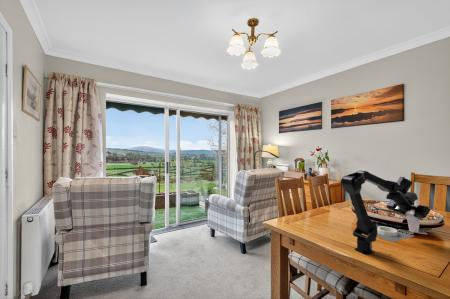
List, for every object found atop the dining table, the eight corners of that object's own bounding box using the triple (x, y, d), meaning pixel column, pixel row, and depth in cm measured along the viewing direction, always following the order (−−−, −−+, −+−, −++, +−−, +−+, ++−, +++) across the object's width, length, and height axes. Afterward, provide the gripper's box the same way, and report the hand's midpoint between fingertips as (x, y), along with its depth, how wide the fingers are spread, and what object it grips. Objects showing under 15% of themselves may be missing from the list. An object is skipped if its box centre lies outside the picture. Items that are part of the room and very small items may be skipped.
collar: (390, 237, 122) (390, 233, 122) (373, 231, 131) (373, 227, 131) (401, 234, 125) (401, 230, 126) (383, 229, 134) (383, 225, 134)
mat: (393, 242, 116) (393, 242, 116) (361, 231, 133) (361, 230, 133) (414, 236, 124) (414, 235, 124) (382, 227, 140) (382, 226, 140)
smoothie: (405, 231, 116) (405, 205, 116) (406, 228, 121) (405, 203, 121) (421, 234, 112) (421, 207, 112) (421, 230, 116) (420, 205, 117)
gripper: (427, 190, 106) (443, 211, 109) (390, 185, 124) (404, 202, 127) (416, 207, 104) (432, 228, 107) (379, 199, 122) (394, 217, 125)
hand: (415, 217), depth 116 cm, fingers closed on smoothie, 6 cm apart
